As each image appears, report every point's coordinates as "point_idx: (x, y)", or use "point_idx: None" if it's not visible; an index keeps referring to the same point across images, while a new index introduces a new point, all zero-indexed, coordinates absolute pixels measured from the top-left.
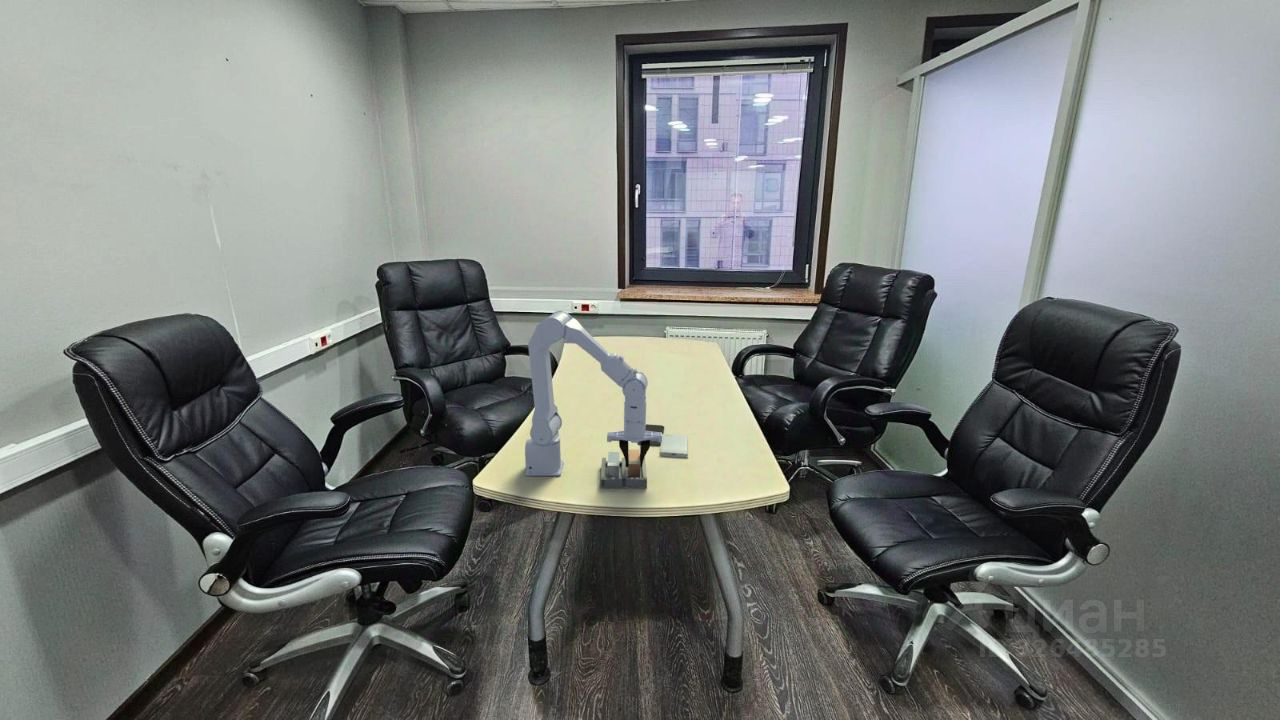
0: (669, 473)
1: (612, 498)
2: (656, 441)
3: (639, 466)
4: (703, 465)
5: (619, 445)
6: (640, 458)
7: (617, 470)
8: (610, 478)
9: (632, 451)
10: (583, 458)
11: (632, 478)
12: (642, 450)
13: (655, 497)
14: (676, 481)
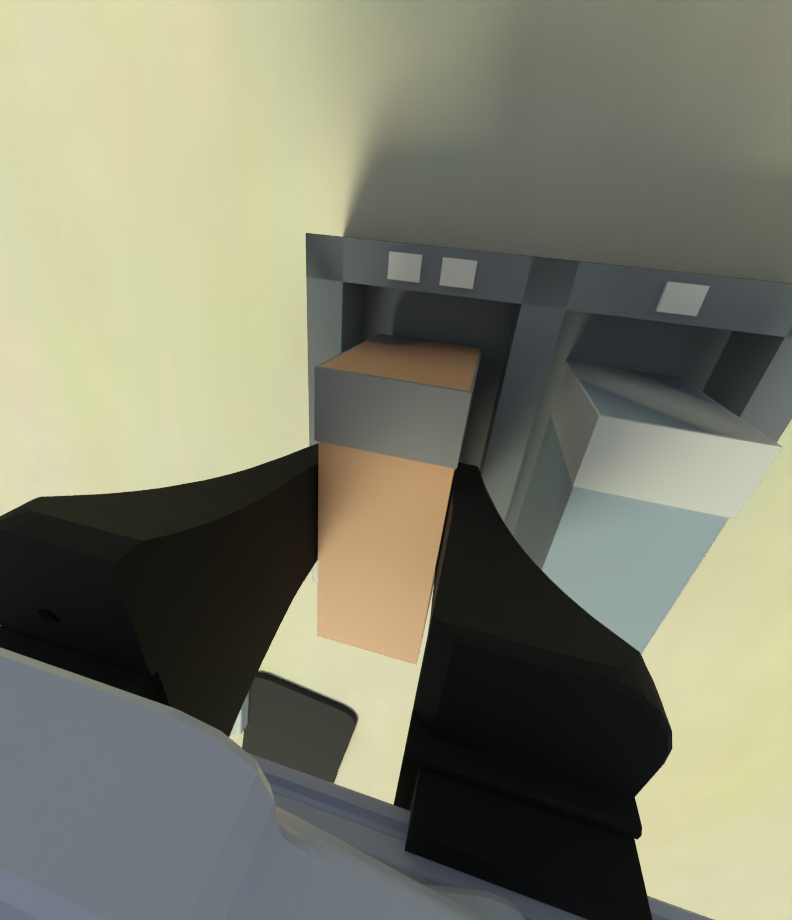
0: (193, 427)
1: (756, 5)
2: (269, 704)
3: (340, 359)
4: (40, 471)
5: (668, 748)
6: (303, 470)
7: (608, 397)
8: (719, 302)
9: (382, 628)
10: (714, 710)
11: (453, 266)
12: (193, 511)
13: (274, 30)
14: (140, 318)
